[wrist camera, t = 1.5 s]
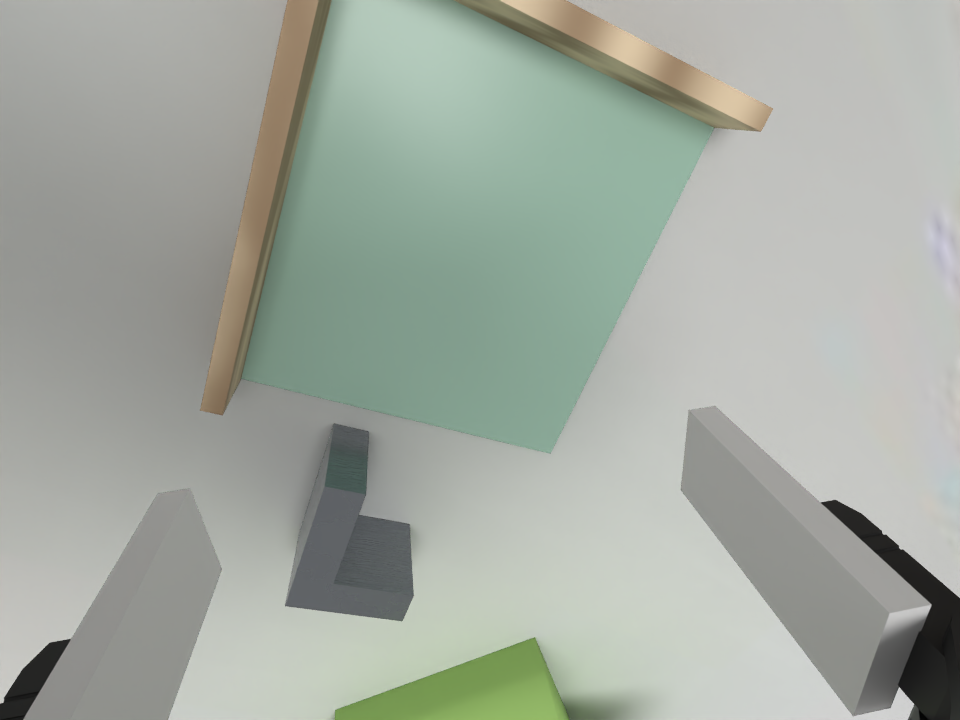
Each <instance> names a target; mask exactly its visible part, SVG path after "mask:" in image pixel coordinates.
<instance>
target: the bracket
mask: <svg viewBox="0 0 960 720" xmlns="http://www.w3.org/2000/svg"><path fill="white" fill-rule="evenodd" d="M368 437H369V432H368V431H364V430H360V429H355V428H351V427H347V426H342V425H338V424H334V425H333V429H332V432H331V435H330V438H329V441H328V444H327V447H326V450H325V453H324V457H323V460H322V463H321V466H320V469H319V472H318V475H317V478H316V482H315V485H314V488H313V491H312V494H311V497H310V500H309V503H308V506H307V510H306V513H305V516H304V519H303V522H302V525H301V528H300V532H299V537H298V542H297V547H296V552H295V558H294V563H293V568H292V573H291V578H290V583H289V588H288V593H287V598H286V603H285V606H289V607H297V608H304V609H312V610H320V611H327V612H335V613H343V614H351V615H358V616H366V617H374V618H381V619H389V620H397V621H403V619H404V616H405V614H406V612H407V610H408V607H409V605H410V603H411V601H412V598H413V596H414V593H413V576H412V560H411V543H410V526H409V524H405V523H400V522H395V521H389V520H384V519H378V518H373V517H367V516H362V515H359V512H360V509H361V507H362V504H363V501H364V498H365V496H366V481H367V459H368Z"/></svg>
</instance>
